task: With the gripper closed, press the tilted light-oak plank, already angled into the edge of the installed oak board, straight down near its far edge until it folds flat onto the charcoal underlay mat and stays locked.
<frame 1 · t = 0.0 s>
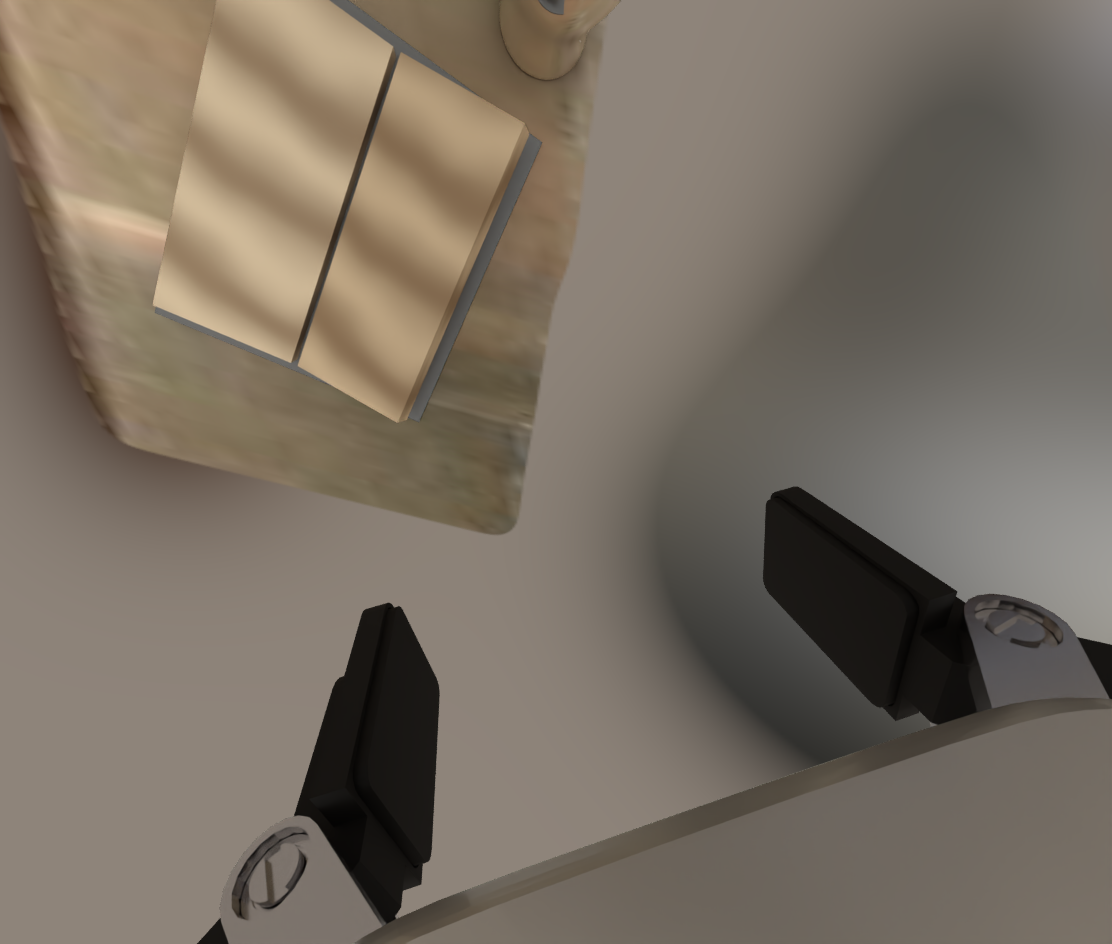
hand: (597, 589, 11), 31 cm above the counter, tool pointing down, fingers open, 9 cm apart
underlay mat: (350, 227, 32), on the counter
beer glass: (543, 24, 30), on the counter
installed board: (276, 187, 30), resting on underlay mat
loose plank: (404, 259, 31), point 3 cm above the counter, hinge at 22.0°
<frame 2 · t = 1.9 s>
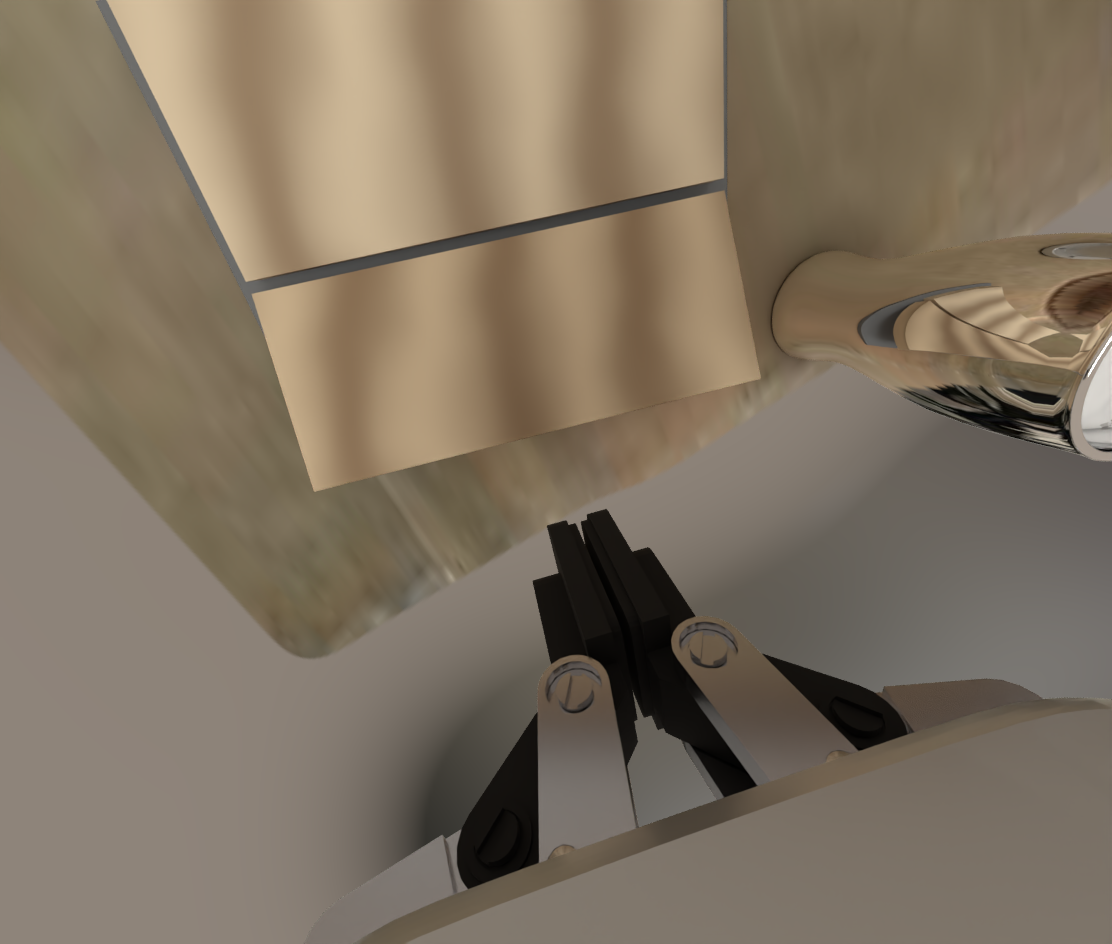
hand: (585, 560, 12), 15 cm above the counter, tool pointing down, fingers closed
underlay mat: (494, 241, 21), on the counter
beer glass: (815, 306, 26), on the counter
installed board: (465, 114, 19), resting on underlay mat
loose plank: (521, 342, 21), point 3 cm above the counter, hinge at 22.0°
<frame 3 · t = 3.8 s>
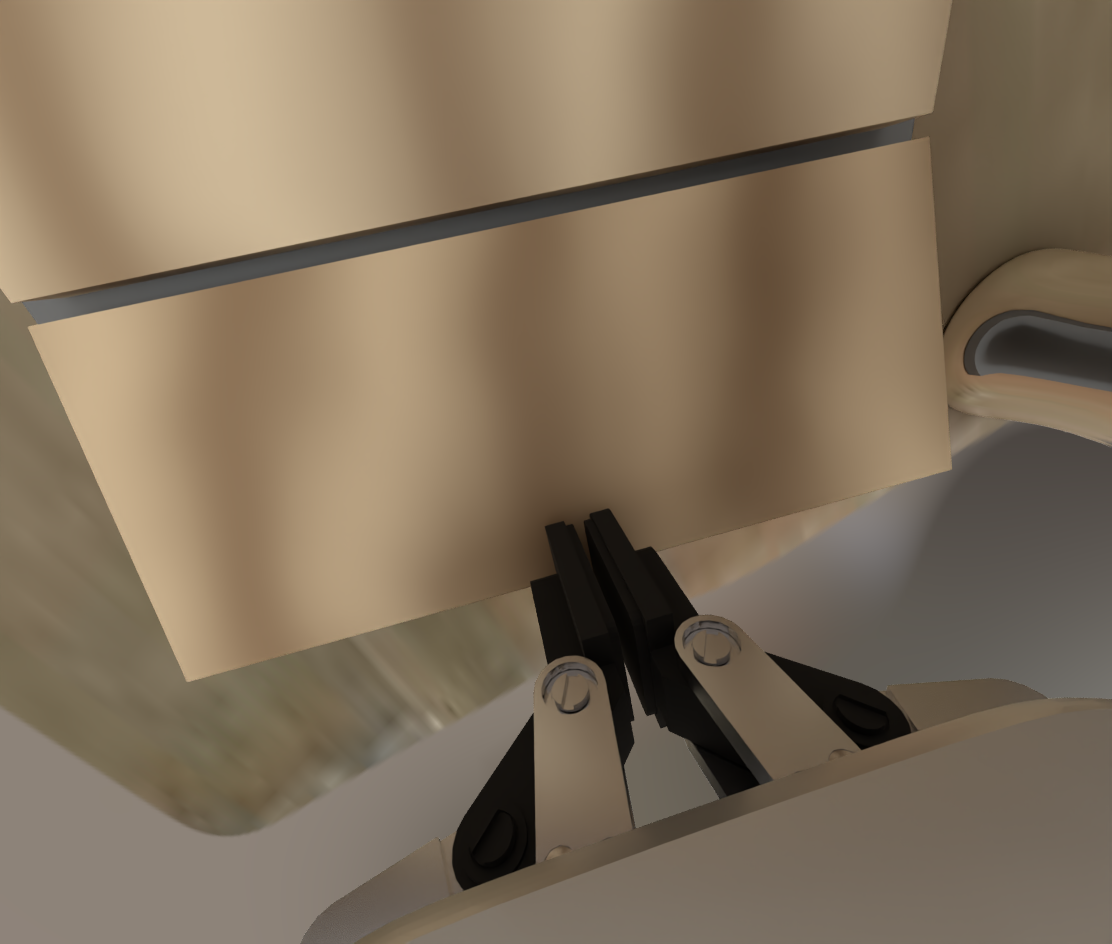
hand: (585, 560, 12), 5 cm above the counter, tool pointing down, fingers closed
underlay mat: (508, 228, 12), on the counter
beer glass: (999, 336, 17), on the counter
loose plank: (555, 408, 12), point 3 cm above the counter, hinge at 17.4°, touching gripper
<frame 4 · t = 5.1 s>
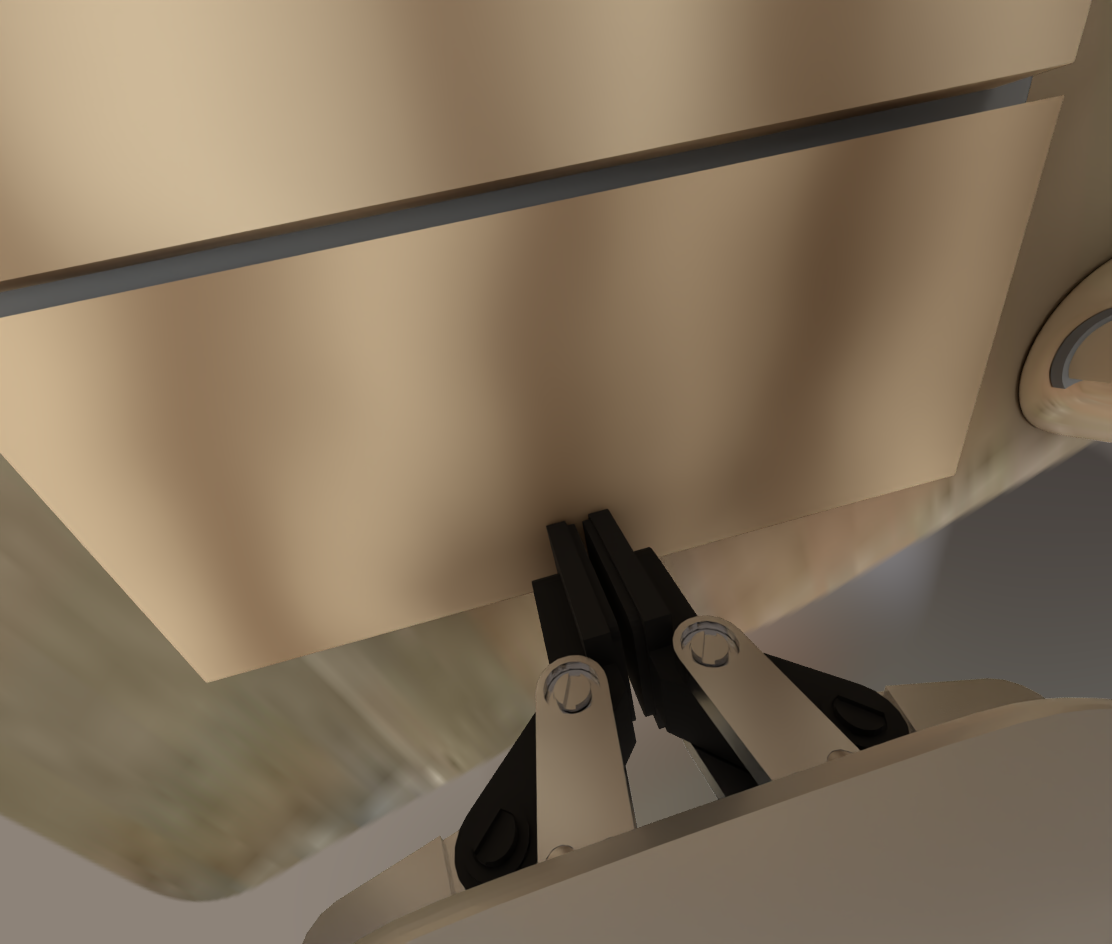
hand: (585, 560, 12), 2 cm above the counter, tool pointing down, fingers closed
underlay mat: (528, 213, 10), on the counter
beer glass: (1094, 343, 14), on the counter
loose plank: (573, 416, 11), point 1 cm above the counter, hinge at 0.0°, touching gripper, underlay mat
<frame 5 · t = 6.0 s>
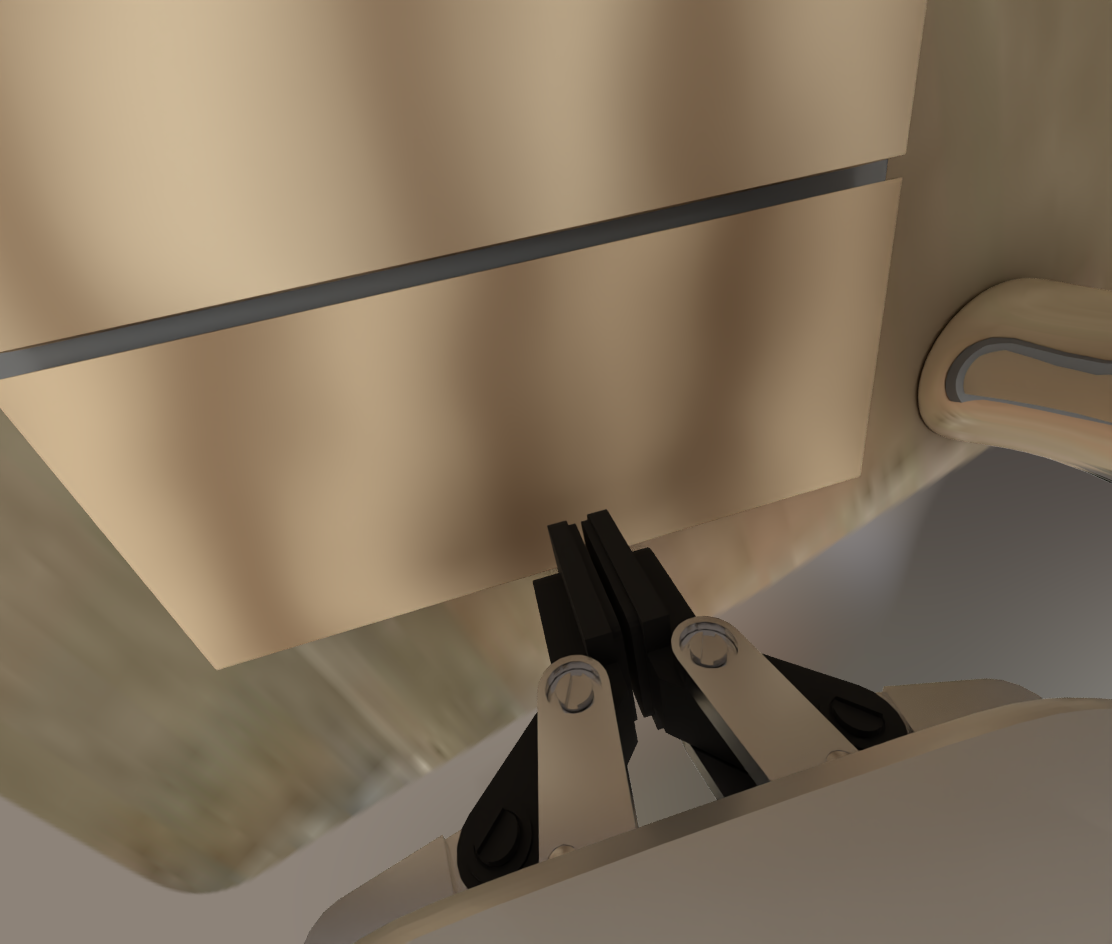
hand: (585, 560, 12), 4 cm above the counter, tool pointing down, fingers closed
underlay mat: (486, 269, 12), on the counter
beer glass: (979, 362, 17), on the counter
installed board: (426, 26, 10), resting on underlay mat
loose plank: (529, 433, 13), point 1 cm above the counter, hinge at 0.0°, touching underlay mat
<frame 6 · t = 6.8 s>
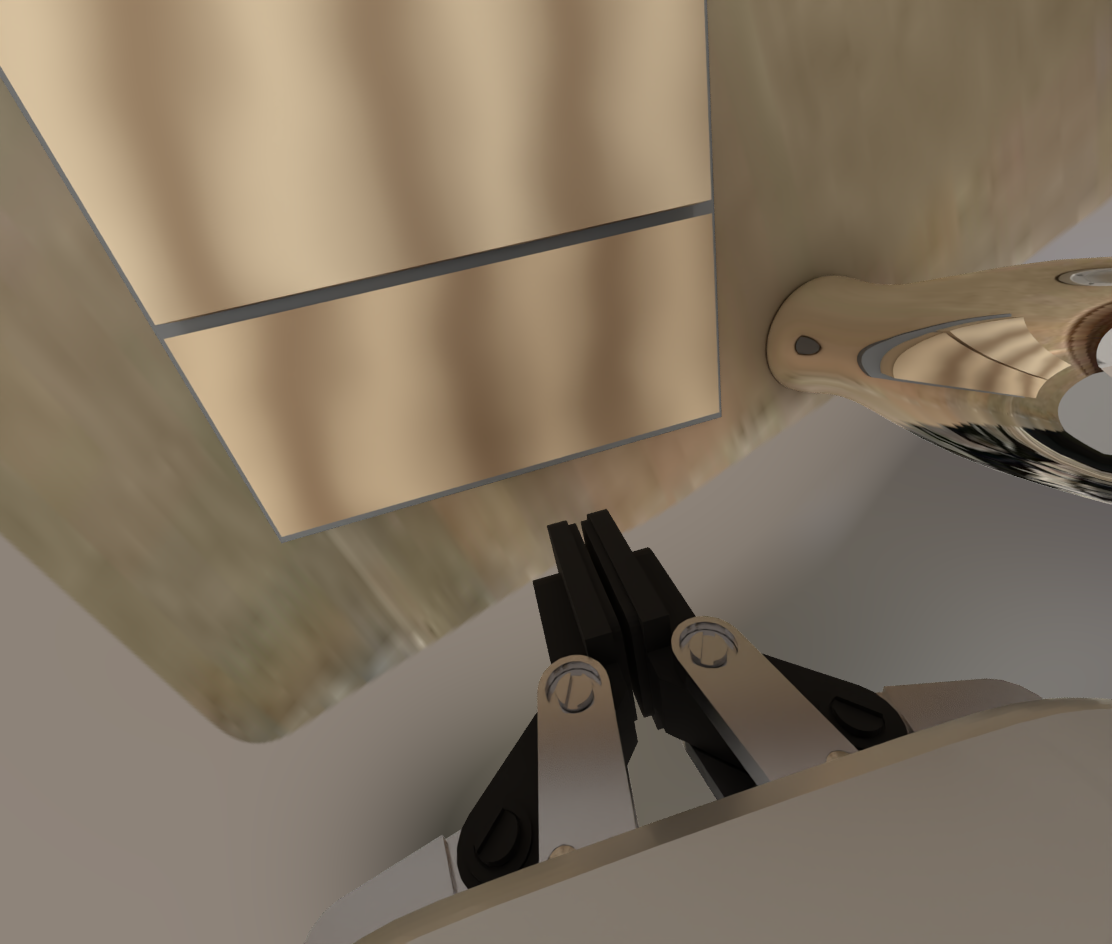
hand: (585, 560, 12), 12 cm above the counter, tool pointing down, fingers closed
underlay mat: (456, 272, 19), on the counter
beer glass: (812, 335, 24), on the counter
installed board: (416, 131, 17), resting on underlay mat
loose plank: (486, 378, 20), point 1 cm above the counter, hinge at 0.0°, touching underlay mat
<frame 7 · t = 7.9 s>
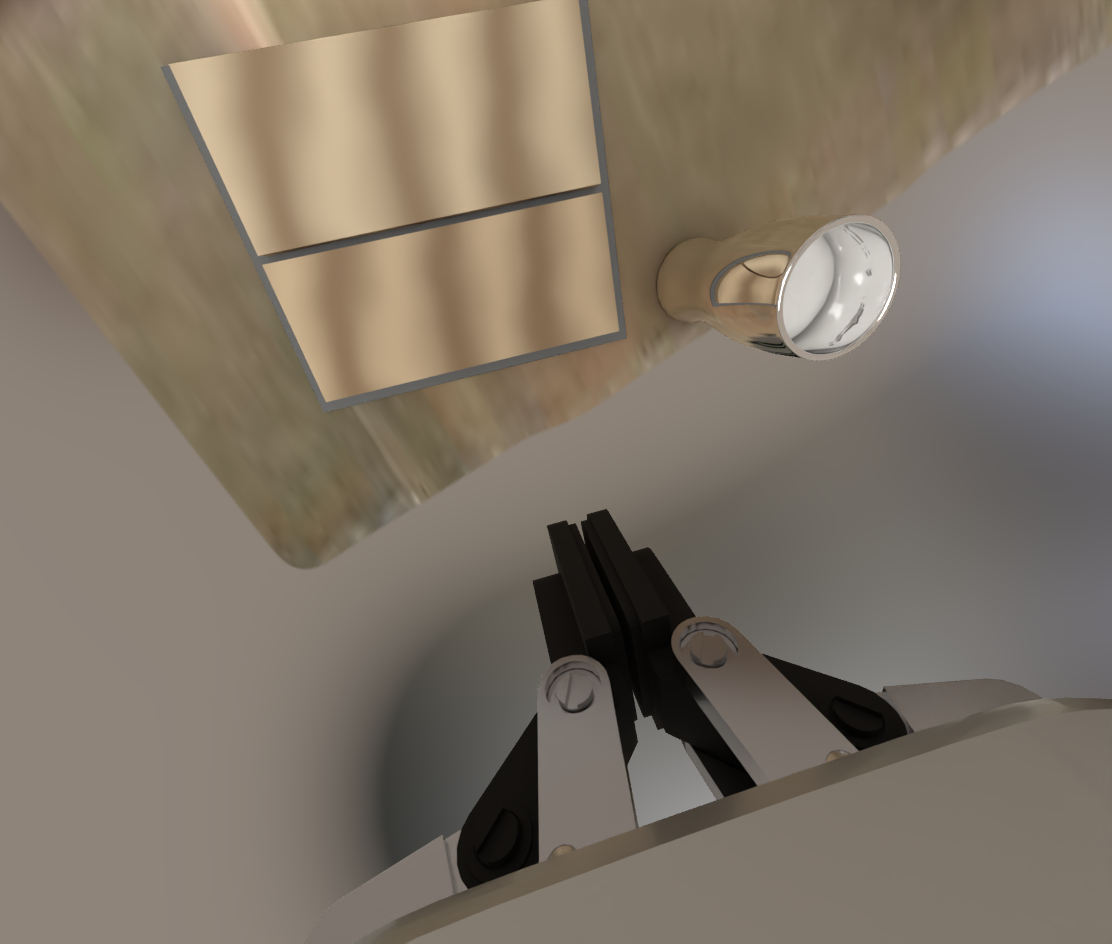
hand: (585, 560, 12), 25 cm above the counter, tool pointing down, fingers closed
underlay mat: (439, 229, 29), on the counter
beer glass: (691, 281, 34), on the counter
installed board: (413, 139, 27), resting on underlay mat
loose plank: (458, 300, 30), point 1 cm above the counter, hinge at 0.0°, touching underlay mat
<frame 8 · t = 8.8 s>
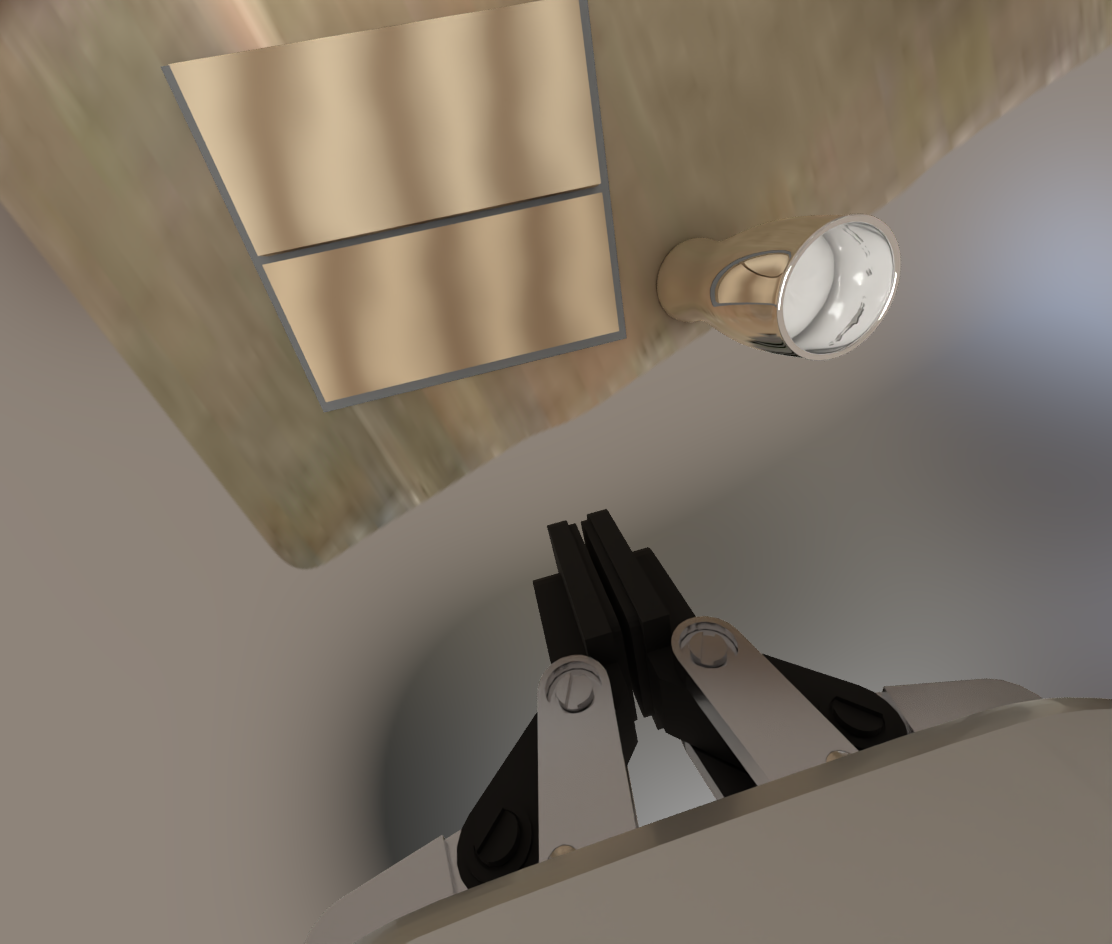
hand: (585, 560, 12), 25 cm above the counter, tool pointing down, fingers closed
underlay mat: (439, 229, 29), on the counter
beer glass: (691, 281, 34), on the counter
installed board: (413, 139, 27), resting on underlay mat
loose plank: (458, 300, 30), point 1 cm above the counter, hinge at 0.0°, touching underlay mat
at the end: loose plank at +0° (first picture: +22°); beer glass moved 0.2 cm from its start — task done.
